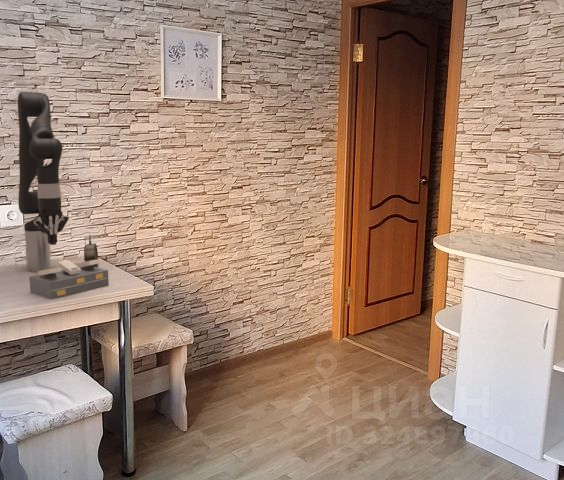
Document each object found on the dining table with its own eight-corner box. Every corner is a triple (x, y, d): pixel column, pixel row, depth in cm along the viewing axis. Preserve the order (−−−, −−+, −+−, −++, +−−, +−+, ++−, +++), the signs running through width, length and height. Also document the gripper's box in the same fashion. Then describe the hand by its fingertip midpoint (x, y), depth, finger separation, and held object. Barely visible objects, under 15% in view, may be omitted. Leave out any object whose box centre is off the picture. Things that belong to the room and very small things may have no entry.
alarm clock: (97, 274, 240) (95, 236, 237) (83, 275, 239) (81, 236, 236) (99, 268, 251) (97, 231, 248) (86, 269, 250) (84, 231, 246)
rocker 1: (38, 275, 213) (37, 270, 213) (48, 273, 216) (47, 268, 216) (51, 273, 208) (50, 268, 208) (61, 271, 211) (60, 266, 211)
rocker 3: (77, 267, 226) (76, 263, 226) (86, 265, 229) (85, 261, 229) (90, 265, 220) (89, 260, 220) (99, 263, 223) (98, 258, 223)
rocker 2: (57, 265, 219) (57, 261, 219) (67, 263, 222) (67, 259, 222) (70, 275, 215) (71, 270, 214) (80, 273, 218) (80, 268, 217)
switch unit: (30, 292, 215) (29, 273, 213) (87, 279, 233) (86, 261, 232) (51, 299, 206) (50, 280, 205) (109, 285, 225) (108, 267, 223)
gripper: (60, 193, 212) (63, 240, 215) (25, 196, 202) (29, 246, 205) (72, 195, 207) (75, 243, 211) (37, 198, 197) (41, 248, 201)
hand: (52, 244), depth 208 cm, fingers closed
